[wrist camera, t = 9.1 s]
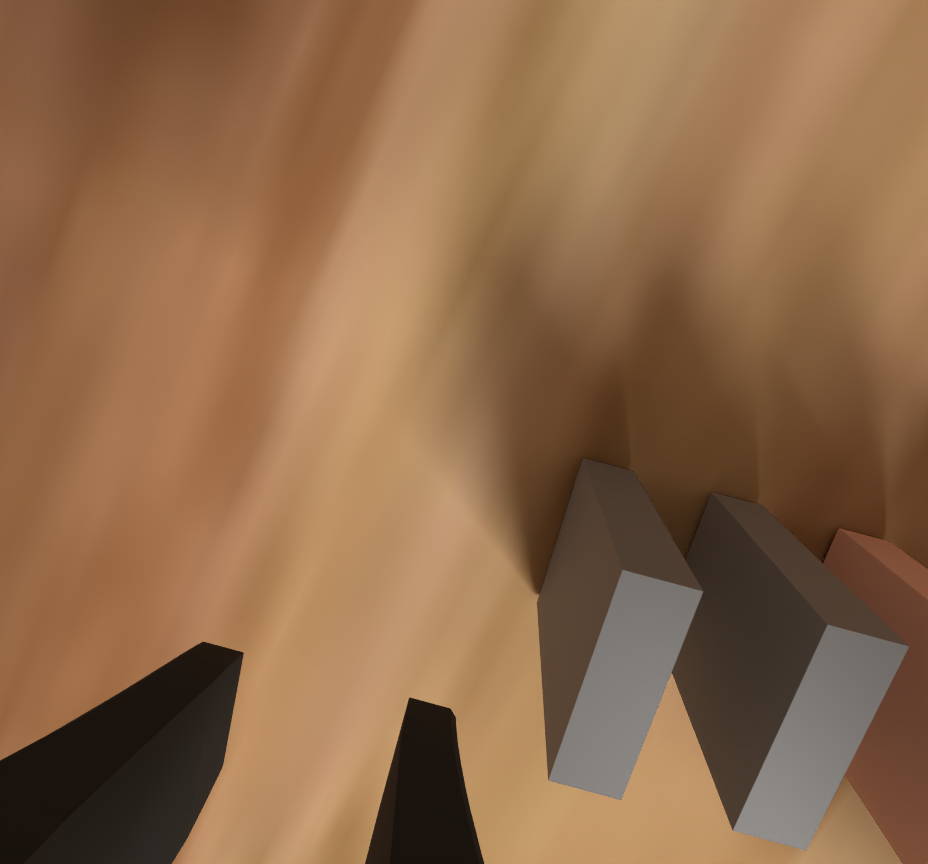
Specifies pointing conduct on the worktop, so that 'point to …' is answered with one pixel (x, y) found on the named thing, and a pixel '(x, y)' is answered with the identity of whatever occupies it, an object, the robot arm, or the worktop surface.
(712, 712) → the charcoal tile
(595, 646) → the charcoal tile
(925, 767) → the brick tile
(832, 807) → the worktop surface
